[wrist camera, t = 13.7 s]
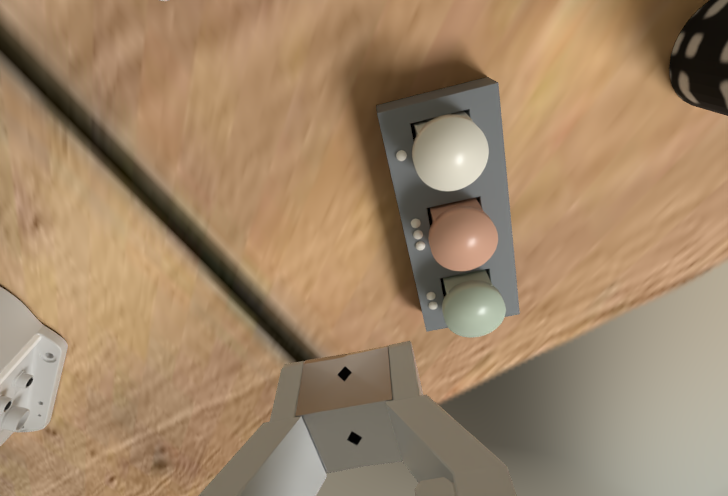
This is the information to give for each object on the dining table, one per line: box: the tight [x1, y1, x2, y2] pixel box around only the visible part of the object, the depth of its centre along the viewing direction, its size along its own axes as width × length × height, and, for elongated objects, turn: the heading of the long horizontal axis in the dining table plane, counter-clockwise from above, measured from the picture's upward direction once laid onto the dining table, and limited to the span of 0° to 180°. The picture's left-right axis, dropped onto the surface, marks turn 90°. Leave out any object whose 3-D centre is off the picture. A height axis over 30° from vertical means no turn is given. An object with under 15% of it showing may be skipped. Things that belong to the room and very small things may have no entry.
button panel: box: [376, 77, 520, 331], centre depth 37 cm, size 21×9×3 cm, turn 14°
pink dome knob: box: [428, 197, 498, 271], centre depth 36 cm, size 5×5×5 cm
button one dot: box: [412, 111, 489, 191], centre depth 32 cm, size 5×5×5 cm
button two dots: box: [442, 269, 506, 337], centre depth 39 cm, size 5×5×5 cm
